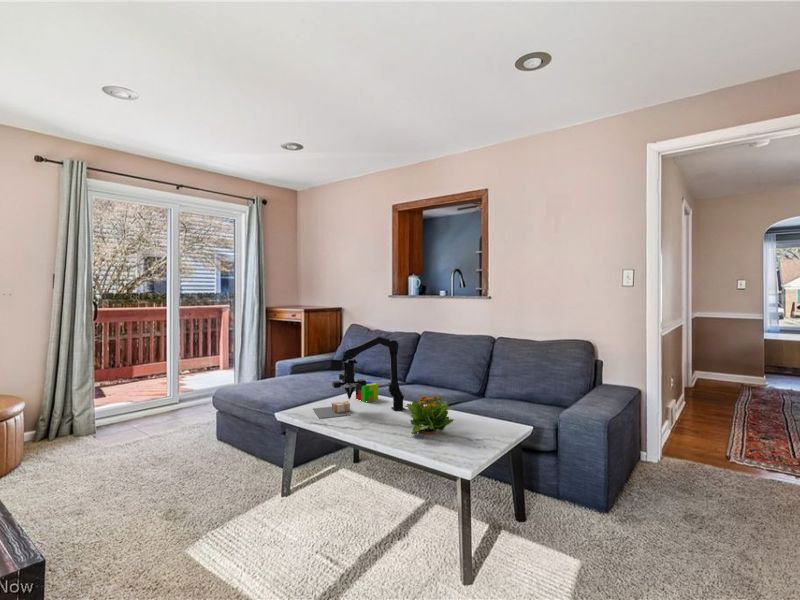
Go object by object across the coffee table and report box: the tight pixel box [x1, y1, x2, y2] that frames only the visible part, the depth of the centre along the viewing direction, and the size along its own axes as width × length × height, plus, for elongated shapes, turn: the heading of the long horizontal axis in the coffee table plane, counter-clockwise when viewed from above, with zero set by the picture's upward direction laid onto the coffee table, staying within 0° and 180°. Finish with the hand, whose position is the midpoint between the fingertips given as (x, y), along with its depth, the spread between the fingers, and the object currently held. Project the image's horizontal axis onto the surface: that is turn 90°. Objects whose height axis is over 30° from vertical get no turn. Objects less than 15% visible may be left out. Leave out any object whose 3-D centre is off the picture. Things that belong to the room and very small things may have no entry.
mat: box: [312, 406, 352, 419], centre depth 233 cm, size 20×17×1 cm
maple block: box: [331, 400, 351, 413], centre depth 235 cm, size 6×4×9 cm
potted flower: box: [404, 394, 454, 436], centre depth 201 cm, size 25×24×18 cm
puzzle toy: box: [355, 381, 379, 403], centre depth 262 cm, size 10×10×10 cm
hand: (349, 398), depth 237 cm, fingers closed
